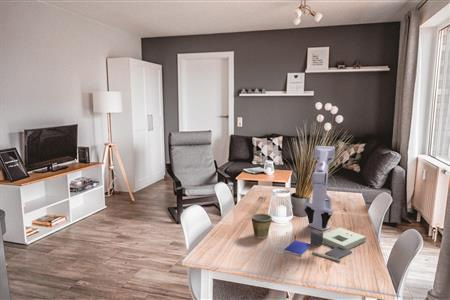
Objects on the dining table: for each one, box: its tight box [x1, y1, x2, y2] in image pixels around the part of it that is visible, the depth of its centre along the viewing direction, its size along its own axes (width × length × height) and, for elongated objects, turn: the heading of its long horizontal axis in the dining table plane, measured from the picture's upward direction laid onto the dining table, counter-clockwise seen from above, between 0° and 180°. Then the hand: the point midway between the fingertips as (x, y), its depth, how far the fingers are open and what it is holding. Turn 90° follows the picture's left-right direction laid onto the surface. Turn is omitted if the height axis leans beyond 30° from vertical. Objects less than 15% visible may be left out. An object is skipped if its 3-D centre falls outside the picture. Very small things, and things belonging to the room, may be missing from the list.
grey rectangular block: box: [309, 229, 324, 248], centre depth 152 cm, size 4×4×6 cm
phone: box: [324, 247, 352, 260], centre depth 142 cm, size 6×11×1 cm, turn 126°
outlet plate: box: [323, 227, 367, 250], centre depth 156 cm, size 14×18×3 cm
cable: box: [311, 251, 341, 263], centre depth 139 cm, size 12×1×1 cm, turn 51°
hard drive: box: [283, 239, 312, 257], centre depth 147 cm, size 2×8×12 cm
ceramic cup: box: [251, 213, 273, 240], centre depth 161 cm, size 13×10×10 cm
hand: (317, 225), depth 151 cm, fingers open, 7 cm apart
